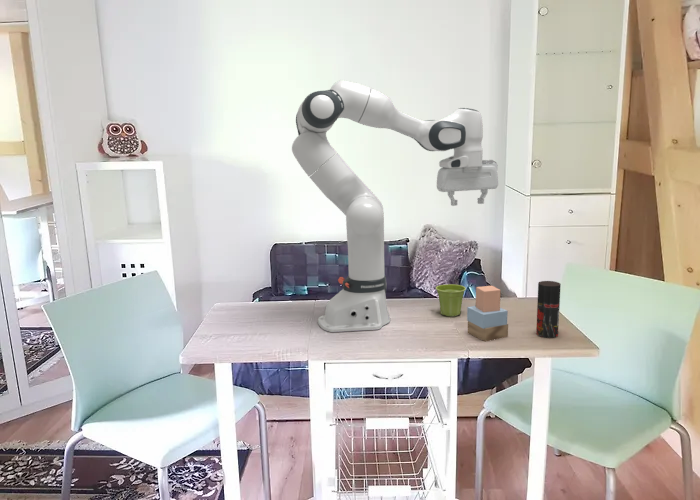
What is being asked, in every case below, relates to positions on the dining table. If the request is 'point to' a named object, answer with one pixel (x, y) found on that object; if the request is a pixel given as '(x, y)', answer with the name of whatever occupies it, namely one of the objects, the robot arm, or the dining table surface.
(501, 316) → the tower top
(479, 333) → the tower base
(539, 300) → the deodorant
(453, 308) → the plant pot
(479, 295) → the terracotta block
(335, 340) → the dining table surface
